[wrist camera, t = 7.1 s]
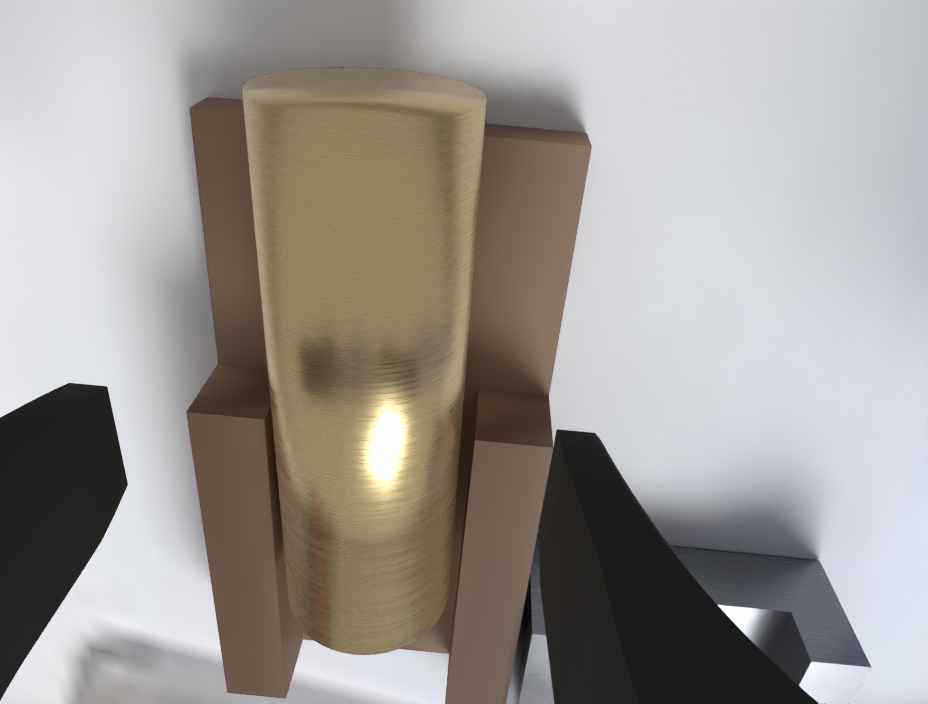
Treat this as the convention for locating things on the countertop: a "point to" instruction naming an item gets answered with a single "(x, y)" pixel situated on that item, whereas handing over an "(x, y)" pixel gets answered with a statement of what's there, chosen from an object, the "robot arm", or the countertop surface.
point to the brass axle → (365, 335)
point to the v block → (752, 610)
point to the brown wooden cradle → (483, 420)
